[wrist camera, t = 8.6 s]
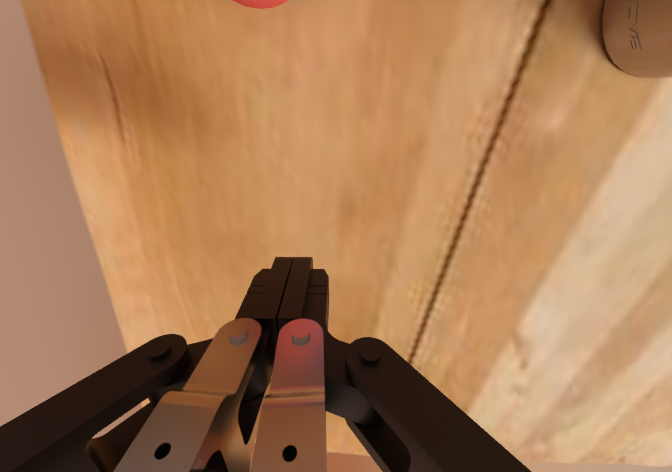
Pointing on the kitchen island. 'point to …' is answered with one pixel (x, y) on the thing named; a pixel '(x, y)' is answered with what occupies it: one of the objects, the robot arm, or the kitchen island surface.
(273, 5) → the ball
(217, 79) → the kitchen island surface
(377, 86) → the kitchen island surface
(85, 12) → the kitchen island surface
